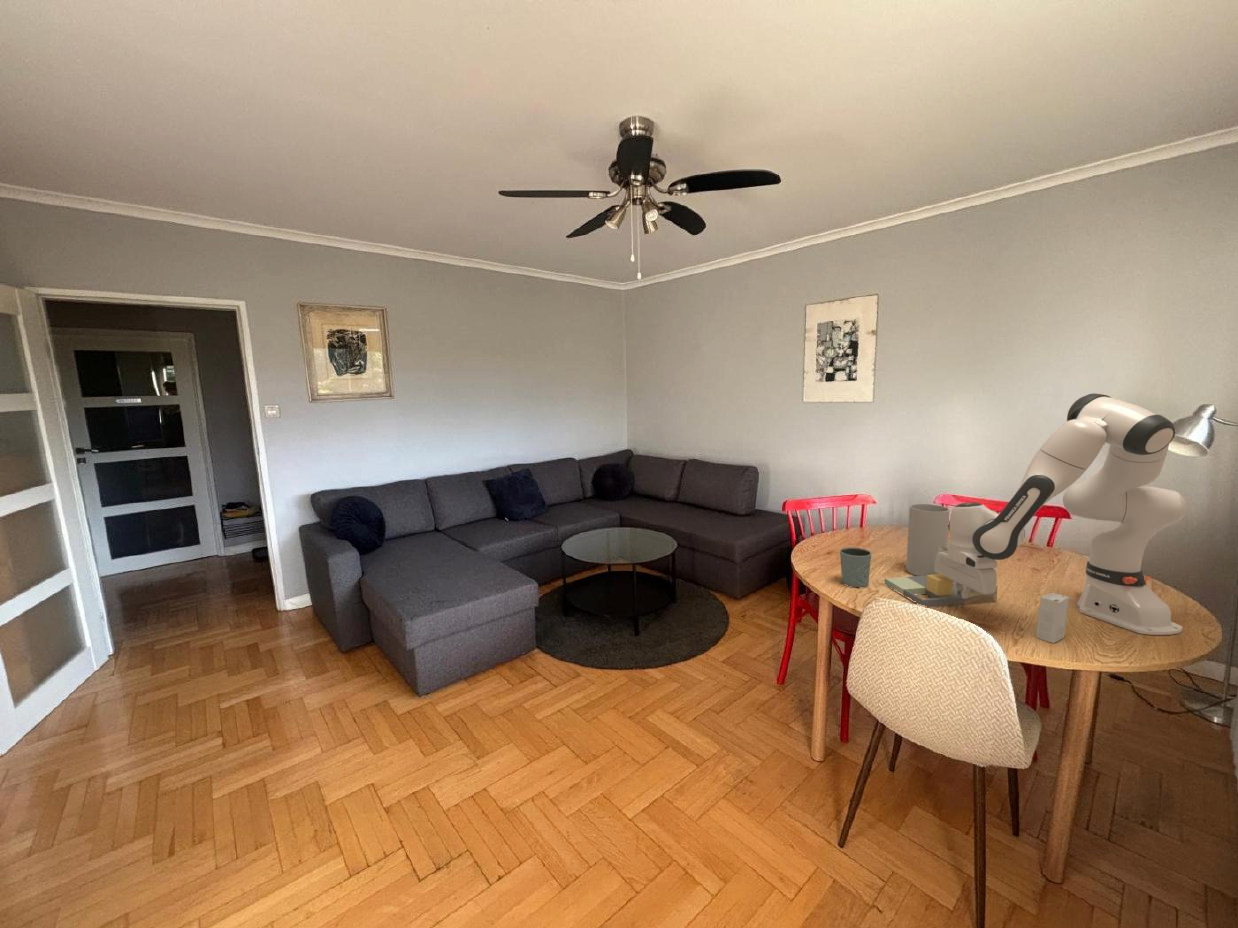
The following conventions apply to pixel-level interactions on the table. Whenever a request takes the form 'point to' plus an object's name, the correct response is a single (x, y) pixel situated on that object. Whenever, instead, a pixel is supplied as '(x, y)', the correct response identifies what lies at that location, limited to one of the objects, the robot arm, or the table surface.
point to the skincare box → (1052, 617)
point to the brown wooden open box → (977, 594)
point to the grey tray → (924, 591)
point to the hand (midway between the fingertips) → (961, 596)
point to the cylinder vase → (926, 537)
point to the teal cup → (855, 566)
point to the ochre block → (939, 584)
